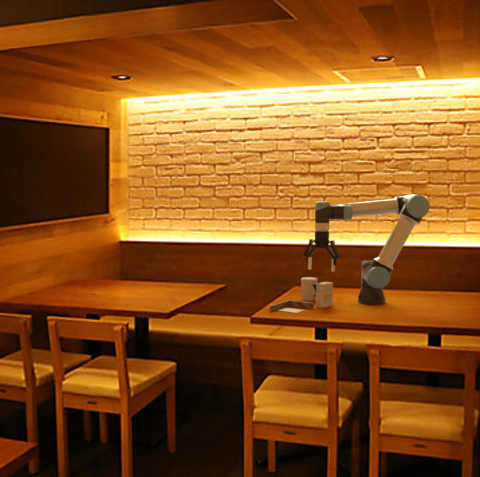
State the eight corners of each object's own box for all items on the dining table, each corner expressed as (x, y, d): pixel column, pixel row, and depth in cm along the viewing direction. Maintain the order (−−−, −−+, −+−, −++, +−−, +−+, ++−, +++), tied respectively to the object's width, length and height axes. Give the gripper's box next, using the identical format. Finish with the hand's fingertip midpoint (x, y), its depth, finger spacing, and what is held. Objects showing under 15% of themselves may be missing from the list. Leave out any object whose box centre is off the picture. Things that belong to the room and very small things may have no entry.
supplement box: (326, 305, 367) (326, 281, 365) (332, 306, 363) (333, 282, 362) (315, 307, 361) (315, 282, 360) (321, 308, 358) (322, 284, 356)
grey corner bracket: (313, 308, 358) (313, 302, 358) (294, 314, 341) (294, 308, 341) (289, 305, 366) (289, 299, 366) (270, 311, 349) (270, 305, 349)
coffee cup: (316, 301, 378) (316, 279, 377) (299, 300, 380) (300, 279, 379) (318, 298, 388) (318, 277, 386) (301, 297, 389) (301, 276, 388)
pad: (304, 310, 352) (304, 310, 352) (296, 313, 345) (296, 312, 345) (285, 308, 358) (285, 307, 358) (277, 310, 351) (277, 310, 351)
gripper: (346, 231, 357) (346, 271, 359) (304, 229, 371) (303, 267, 373) (340, 232, 351) (340, 273, 353) (297, 230, 364) (297, 269, 366)
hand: (321, 270), depth 363 cm, fingers open, 13 cm apart
